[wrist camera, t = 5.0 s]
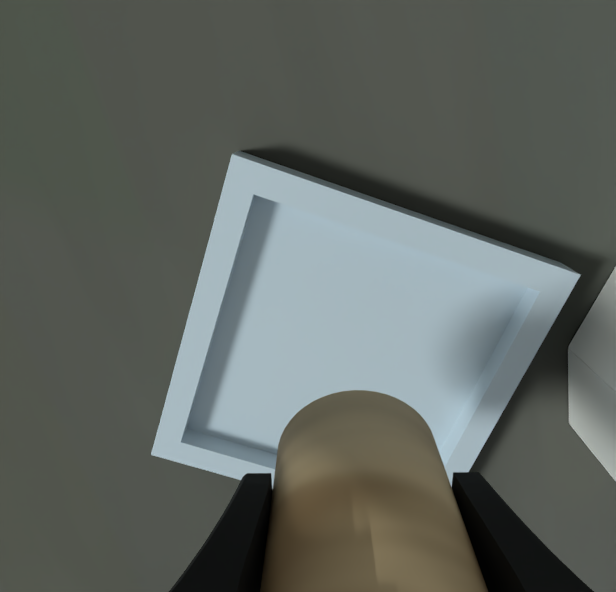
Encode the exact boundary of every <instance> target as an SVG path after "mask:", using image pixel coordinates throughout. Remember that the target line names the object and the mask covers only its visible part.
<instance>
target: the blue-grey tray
mask: <svg viewBox="0 0 616 592" xmlns="http://www.w3.org/2000/svg"><path fill="white" fill-rule="evenodd" d="M579 277H580V274H579V273H577V272H575V271H574V270H572V269H570V268H569V267H567V266H566V265H564V264H562V263H561V262H558V261H555V260H552V259H549V258H547V257H544V256H541V255H538V254H535V253H532V252H529V251H526V250H524V249H521V248H518V247H515V246H512V245H509V244H506V243H503V242H501V241H498V240H495V239H492V238H489V237H486V236H483V235H480V234H478V233H475V232H472V231H469V230H466V229H463V228H460V227H457V226H455V225H452V224H449V223H446V222H443V221H440V220H437V219H434V218H432V217H429V216H426V215H423V214H420V213H417V212H414V211H411V210H408V209H406V208H403V207H400V206H397V205H394V204H391V203H388V202H385V201H383V200H380V199H377V198H374V197H371V196H368V195H365V194H362V193H360V192H357V191H354V190H351V189H348V188H345V187H342V186H339V185H337V184H334V183H331V182H328V181H325V180H322V179H319V178H316V177H314V176H311V175H308V174H305V173H302V172H299V171H296V170H293V169H291V168H288V167H285V166H282V165H279V164H276V163H273V162H270V161H268V160H265V159H262V158H259V157H256V156H253V155H250V154H247V153H245V152H242V151H238V152H236V153H233V154H232V156H231V160H230V164H229V167H228V171H227V175H226V179H225V182H224V186H223V190H222V193H221V197H220V201H219V205H218V208H217V212H216V216H215V219H214V223H213V227H212V231H211V234H210V238H209V242H208V245H207V249H206V253H205V257H204V260H203V264H202V268H201V271H200V275H199V279H198V282H197V286H196V290H195V294H194V297H193V301H192V305H191V308H190V312H189V316H188V320H187V323H186V327H185V331H184V334H183V338H182V342H181V346H180V349H179V353H178V357H177V360H176V364H175V368H174V372H173V375H172V379H171V383H170V386H169V390H168V394H167V398H166V401H165V405H164V409H163V412H162V416H161V420H160V423H159V427H158V431H157V435H156V438H155V442H154V446H153V449H152V453H151V455H154V456H157V457H161V458H165V459H168V460H172V461H175V462H179V463H182V464H186V465H189V466H193V467H196V468H200V469H203V470H207V471H211V472H214V473H218V474H221V475H225V476H228V477H232V478H235V479H239V480H241V479H242V477H243V476H244V475H245V474H247V473H271V477H272V489H273V483H274V475H275V467H276V459H277V451H278V444H279V441H280V438H281V435H282V433H283V431H284V429H285V427H286V426H287V424H288V423H289V421H290V420H291V419H292V418H293V417H294V416H295V415H296V413H298V412H299V411H300V410H301V409H302V408H304V407H305V406H307V405H308V404H310V403H311V402H313V401H315V400H317V399H319V398H321V397H324V396H327V395H330V394H333V393H337V392H342V391H350V390H367V391H375V392H379V393H383V394H387V395H390V396H392V397H395V398H397V399H399V400H401V401H403V402H405V403H406V404H408V405H409V406H411V407H412V408H413V409H415V410H416V411H417V412H418V413H419V414H420V415H421V416H422V418H423V419H424V420H425V421H426V423H427V424H428V426H429V428H430V429H431V431H432V434H433V437H434V439H435V442H436V445H437V448H438V451H439V453H440V456H441V459H442V462H443V465H444V467H445V470H446V473H447V476H448V479H449V482H450V484H451V487H452V479H453V472H469V470H470V469H471V467H472V465H473V463H474V462H475V460H476V458H477V456H478V455H479V453H480V451H481V449H482V448H483V446H484V444H485V442H486V440H487V439H488V437H489V435H490V433H491V432H492V430H493V428H494V426H495V425H496V423H497V421H498V419H499V418H500V416H501V414H502V412H503V411H504V409H505V407H506V405H507V404H508V402H509V400H510V398H511V397H512V395H513V393H514V391H515V390H516V388H517V386H518V384H519V383H520V381H521V379H522V377H523V375H524V374H525V372H526V370H527V368H528V367H529V365H530V363H531V361H532V360H533V358H534V356H535V354H536V353H537V351H538V349H539V347H540V346H541V344H542V342H543V340H544V339H545V337H546V335H547V333H548V332H549V330H550V328H551V326H552V325H553V323H554V321H555V319H556V317H557V316H558V314H559V312H560V310H561V309H562V307H563V305H564V303H565V302H566V300H567V298H568V296H569V295H570V293H571V291H572V289H573V288H574V286H575V284H576V282H577V281H578V279H579Z"/></svg>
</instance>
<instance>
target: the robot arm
mask: <svg viewBox="0 0 616 592" xmlns="http://www.w3.org/2000/svg"><path fill="white" fill-rule="evenodd" d="M452 490H453V493H454V496H455V499H456V501H457V504H458V507H459V510H460V513H461V516H462V518H463V521H464V524H465V527H466V530H467V533H468V535H469V538H470V541H471V544H472V547H473V549H474V552H475V555H476V558H477V561H478V564H479V566H480V569H481V572H482V575H483V578H484V581H485V583H486V586H487V589H488V592H594V591H592V590H591V589H590V588H589V587H588V586H587V585H586V584H585V583H584V582H582V581H581V580H580V579H579V578H578V577H577V576H576V575H575V574H574V573H573V572H572V571H571V570H570V569H569V568H568V567H567V566H566V565H565V564H563V563H562V562H561V561H560V560H559V559H558V558H557V557H556V556H555V555H554V554H553V553H552V552H551V551H550V550H549V549H548V548H547V547H546V546H545V545H544V544H543V542H542V541H541V540H540V539H539V538H538V537H537V536H536V535H535V534H534V533H533V532H532V531H531V530H530V529H529V528H528V527H527V526H526V525H525V524H524V523H523V521H522V520H521V519H520V518H519V517H518V516H517V515H516V514H515V513H514V512H513V510H512V509H511V508H510V507H509V506H508V505H507V504H506V503H505V502H504V500H503V499H502V498H501V497H500V496H499V495H498V494H497V492H496V491H495V490H494V489H493V488H492V487H491V486H490V484H489V483H488V482H487V481H486V480H485V479H484V478H483V476H482V475H481V474H480V473H479V472H453V479H452ZM271 500H272V477H271V473H247V474H245V475H244V476H243V477H242V479H241V482H240V484H239V486H238V488H237V490H236V492H235V493H234V495H233V497H232V499H231V501H230V503H229V504H228V506H227V508H226V510H225V511H224V513H223V515H222V516H221V518H220V520H219V521H218V523H217V524H216V526H215V528H214V529H213V531H212V532H211V534H210V535H209V537H208V539H207V540H206V542H205V543H204V545H203V546H202V548H201V549H200V550H199V552H198V553H197V555H196V556H195V557H194V559H193V560H192V562H191V563H190V564H189V566H188V567H187V569H186V570H185V571H184V573H183V574H182V576H181V577H180V578H179V580H178V581H177V582H176V583H175V585H174V586H173V587H172V589H171V590H170V591H169V592H260V588H261V580H262V572H263V564H264V556H265V548H266V540H267V532H268V524H269V516H270V508H271Z"/></svg>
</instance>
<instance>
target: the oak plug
mask: <svg viewBox="0 0 616 592" xmlns="http://www.w3.org/2000/svg"><path fill="white" fill-rule="evenodd" d="M260 592H488V589H487V586H486V583H485V581H484V578H483V575H482V572H481V569H480V566H479V564H478V561H477V558H476V555H475V552H474V549H473V547H472V544H471V541H470V538H469V535H468V533H467V530H466V527H465V524H464V521H463V518H462V516H461V513H460V510H459V507H458V504H457V501H456V499H455V496H454V493H453V490H452V487H451V484H450V482H449V479H448V476H447V473H446V470H445V467H444V465H443V462H442V459H441V456H440V453H439V451H438V448H437V445H436V442H435V439H434V437H433V434H432V431H431V429H430V428H429V426H428V424H427V423H426V421H425V420H424V419H423V418H422V416H421V415H420V414H419V413H418V412H417V411H416V410H415V409H413V408H412V407H411V406H409V405H408V404H406V403H405V402H403V401H401V400H399V399H397V398H395V397H392V396H390V395H387V394H383V393H379V392H375V391H367V390H350V391H342V392H337V393H333V394H330V395H327V396H324V397H321V398H319V399H317V400H315V401H313V402H311V403H310V404H308V405H307V406H305V407H304V408H302V409H301V410H300V411H299V412H298V413H296V415H295V416H294V417H293V418H292V419H291V420H290V421H289V423H288V424H287V426H286V427H285V429H284V431H283V433H282V435H281V438H280V441H279V444H278V451H277V459H276V467H275V475H274V483H273V491H272V500H271V508H270V516H269V524H268V532H267V540H266V548H265V556H264V564H263V572H262V580H261V588H260Z"/></svg>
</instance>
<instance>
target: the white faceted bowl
mask: <svg viewBox="0 0 616 592" xmlns="http://www.w3.org/2000/svg"><path fill="white" fill-rule="evenodd" d="M568 347H569V348H568V395H569V424H570V425H571V427H572V428H573V429H574V430H575V432H576V433H577V434H578V435H579V437H580V438H581V439H582V440H583V442H584V443H585V444H586V445H587V447H588V448H589V449H590V450H591V451H592V453H593V454H594V455H595V456H596V458H597V459H598V460H599V461H600V463H601V464H602V465H603V466H604V468H605V469H606V470H607V471H608V473H609V474H610V475H611V476H612V478H613V479H614V480H615V481H616V267H615V268H614V270H613V272H612V274H611V275H610V277H609V279H608V280H607V282H606V284H605V285H604V287H603V289H602V290H601V292H600V294H599V295H598V297H597V299H596V301H595V302H594V304H593V306H592V307H591V309H590V311H589V312H588V314H587V316H586V317H585V319H584V321H583V322H582V324H581V326H580V328H579V329H578V331H577V333H576V334H575V336H574V338H573V339H572V341H571V343H570V344H569V346H568Z"/></svg>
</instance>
